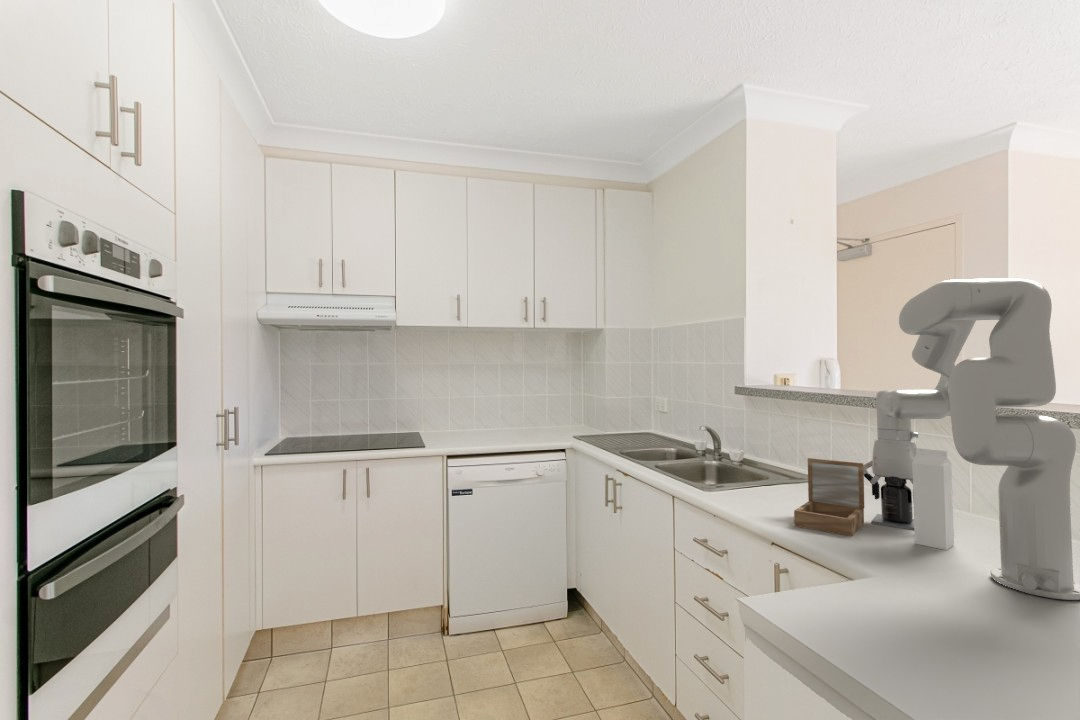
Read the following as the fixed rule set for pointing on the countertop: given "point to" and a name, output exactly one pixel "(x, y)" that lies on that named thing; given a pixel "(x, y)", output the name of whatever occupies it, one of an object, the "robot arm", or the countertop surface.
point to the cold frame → (833, 497)
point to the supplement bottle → (896, 500)
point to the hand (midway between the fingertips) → (896, 500)
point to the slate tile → (892, 523)
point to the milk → (933, 499)
